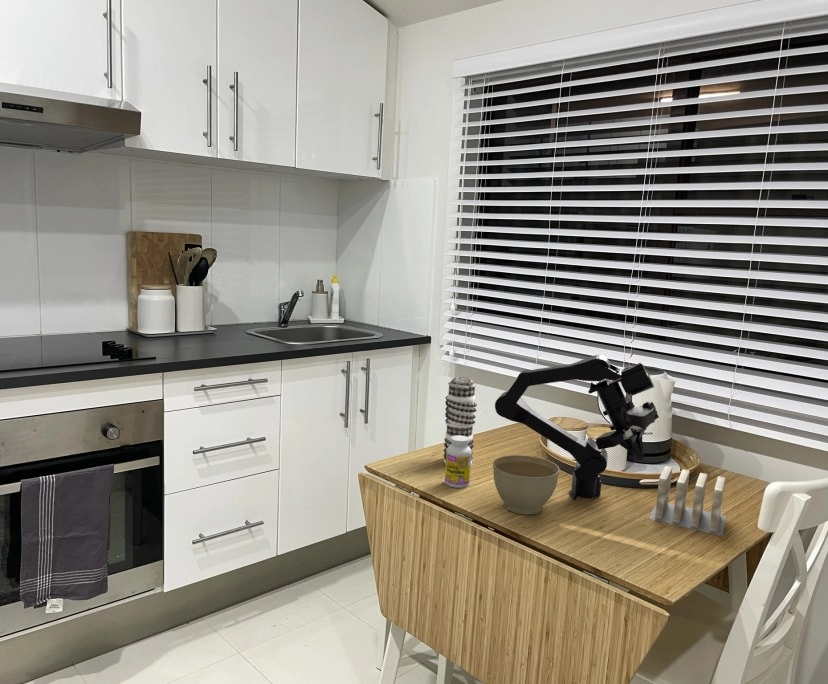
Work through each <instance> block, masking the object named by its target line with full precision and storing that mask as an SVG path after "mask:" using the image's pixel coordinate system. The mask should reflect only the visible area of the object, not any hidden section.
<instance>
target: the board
mask: <svg viewBox="0 0 828 684" xmlns="http://www.w3.org/2000/svg"><path fill="white" fill-rule="evenodd" d="M674 505H675V503H670V502H669V503H668V507H667V509H666V511H665V514H664V516H663V518H662V519H658V518H655V512H656V504H655V505H654V508H653V509H652V511H651V513H650V515H649V517H648V520H652V521H657V522H660V523H664V524H668V525H673V526H678V527H682V528H685V529H690V530H695V531H698V532H704V533H707V534H711V535H715V536H719V537H723V534H724V527H725V524H726V518H727V515H726V514H725V515H724V514H721V516H720V521H719V525H718V529H717V532H714V531H710V530H709V528H710V520H711V512H712V511H706V510H703V513H702V517H701V520H700V523H699V526H698V528H697V527H693V526H691V520H692V511H693V507H688V506H686V507H685V511H684V514H683V516H682V519H681V522H680V523H675V522H673V514H674Z"/></svg>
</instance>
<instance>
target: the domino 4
mask: <svg viewBox="0 0 828 684" xmlns="http://www.w3.org/2000/svg"><path fill="white" fill-rule="evenodd" d="M725 483H726V477H724V476H720V475H719V476H717V479H716V483H715V485H714V491H713V497H712V506H711V511H710V512H711V520H710V528H709V530H710V531H714V532H717V529H718V525H719V521H720V516H721V515H722V506H723V501H724V500H723V499H724V492H725Z"/></svg>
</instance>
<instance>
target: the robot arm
mask: <svg viewBox="0 0 828 684" xmlns="http://www.w3.org/2000/svg"><path fill="white" fill-rule="evenodd" d="M566 381H567V382H568V381H583V382H590V387H589V390H588V391H587V393H588V394H593V393H595V392H596V393H597V395H598V397H599V399H600V401H601V404H602V405H603V407H604V411H602V413H603V417H604V416H605V417H606V416H608V419H609V421H610V423H611V426H609V429H610V431H608V432H607V431H606V432H604V433H603V434H601V435H599V436H598V437H596V438H595V440H594V439H593V438H592V437H590V436H588V438H587V440H584V439H580V438H578V437H577V436H574V435H573V434H572V433H571V432H568V431H567V430H565V429H564V428H562V427H560V426H559V425H557V424H556V423H554V422H552V421H551V420H549V419H547V418H546V417H544V416H543V415H541V414H540V413H538V412H537V411H535V410H534V409H532V407H531V406H530V405H529V404H528V403H527V402H526V400H524V398H522V396H523V395H524V393H525V392H527V391H526V390H527V389H528V387H531V386H539V385H545V384H554V383H560V382H566ZM620 384H621V385H620ZM621 386H622V387H621ZM622 388H623V390H622ZM653 388H655V385H654V383H653V380H652V377H651V375H650V374H649V372H648V371H647V369H646V368H645V366H644V365H643V363H642V362H641V361H640V362H638V363H635V365H632V366H631V367H627V368H625V369H622V368H619V367H618V366H616V365H614V364H612V363H611V362H610V360H609V359H608V358H607V357H606V356H604V355H603V354H594V355H592V356H588V357H586V358H583V359H581V360H578V361H576V362H572V363H569V364H560V365H555V366H549V367H543V368H534V369H524V370H522V371H520V372H519V374H518V376H517V377H516V379H515V381H514V382H513V383H512V385H511V387H510V388H509V389H508V390H507V391H504V392H503V393H501V395H499V397H498V398H497V399H496V400H495V403H494V408H495V412H496V414H497V415H498V416H500V417H502V418H503V419H506V420H509V421H511V422H514V423H519V424H523V425H524V426H526V427H528V428H529V429H531V430H533V431H534V432H536V433H537V434H539V435H540V436H542V437H544V438H545V439H546V440H548V441H550V442H551V443H553V444H554V445H556V446H557V447H559V448H561V449H563V450H564V451H566V452H567V453H569V454H570V455H571V456H572V457H573V459H574V460H575V461H576V464H575V468H574V471H573V472H572V479H571V489H570V490H568V493H569V494H570V496H571V497H572V498H573V499H574V500H577V498H578V497H579V498H583V499H594V498H596V497H601V492H602V481H601V476H600V475H599V474H602V473H604V472H605V471H606V469H607V467H608V461H609V453H608V451H607V450H606V449H610V448H615V447H617V446H621V447H622V448H624V449H625V450H626V451H627V452H629V453H630V454H631V456H633V457H634V458H636V459H637V460H638V461H643V460H644V459H645V454H644V444H643V442H644V441H643V435H644V434H645V432H646V430H647V428H649V426H650V425H651V424H655V422H656V420H657V419H658V418H659V415H658V410H657V407H656V406H655V404H654V403H653V401H649V400H647V401H645V402H644V403H643V404H642V405H640V406H635V404H634V402H633V401H632V400H627V398H626V396H625V394H628V395H631V396H632V397H633V396H636V395H638V394H641V393H643V392H646V391H648V390H650V389H653ZM624 392H625V393H624Z"/></svg>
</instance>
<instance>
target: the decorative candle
mask: <svg viewBox="0 0 828 684" xmlns="http://www.w3.org/2000/svg"><path fill="white" fill-rule="evenodd" d="M476 386H477V384H476V383H475V382H474V381H473V379H472V378H469V377H464V376H463V377H462V376H458V377H454V378H452V379H451V381H449V382H448V393H447V395H446V396H445V401H444V404H445V406H446V407H445V413H444V415H445V418H446V419H445V421H444V422H445V424H446V432H445V438H444V442H445V443H443V445H444V449H443V455H442V456H443V463H444V464H445V465H446V453H447V448H448V447H449V446H450V445H452V443H451V437H452V436H457V435H459V436H465V437H468V438H469V443H468V447H469V448H470V449H471V451H472V454H471V465H472V464H473V461H472V460H473V459H474V457H473V454H474V451H473V448H474V443H475V442H474V439H473V438H474V434H473V428H474V426H475V424H476V421H475V420H474V419H475V418H476V415H475V414H474V413H476V412H477V409H476V407H477V406H478V404H477V403H476V402H475V401H476V395H475V392H476Z"/></svg>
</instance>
